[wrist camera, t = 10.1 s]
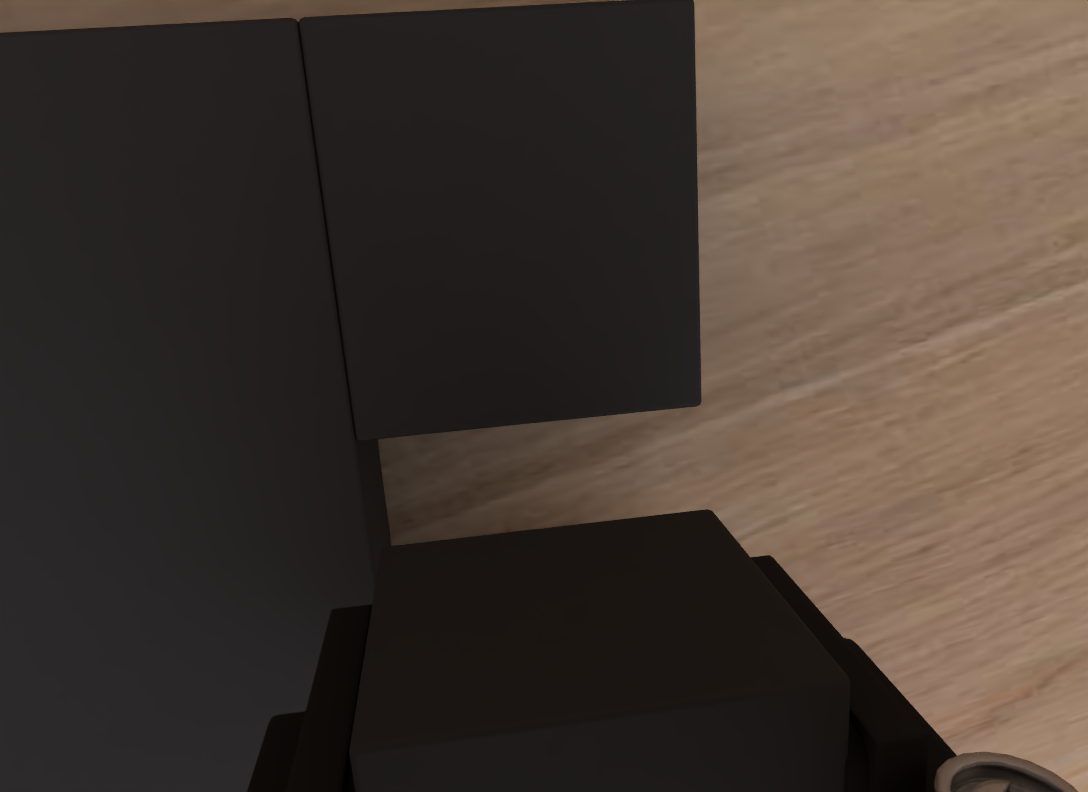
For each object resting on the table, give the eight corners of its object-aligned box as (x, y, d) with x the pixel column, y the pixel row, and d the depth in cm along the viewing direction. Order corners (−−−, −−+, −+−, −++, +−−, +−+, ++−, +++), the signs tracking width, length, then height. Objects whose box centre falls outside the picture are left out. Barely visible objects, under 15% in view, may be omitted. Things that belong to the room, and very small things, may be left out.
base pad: (-476, 94, 13) (-744, 70, 10) (645, 31, 14) (695, -5, 12) (-139, 977, 18) (-254, 1133, 15) (672, 850, 19) (712, 967, 16)
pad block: (379, 544, 11) (347, 750, 7) (711, 506, 11) (854, 678, 7) (417, 825, 12) (406, 1133, 8) (715, 781, 12) (841, 1052, 8)
